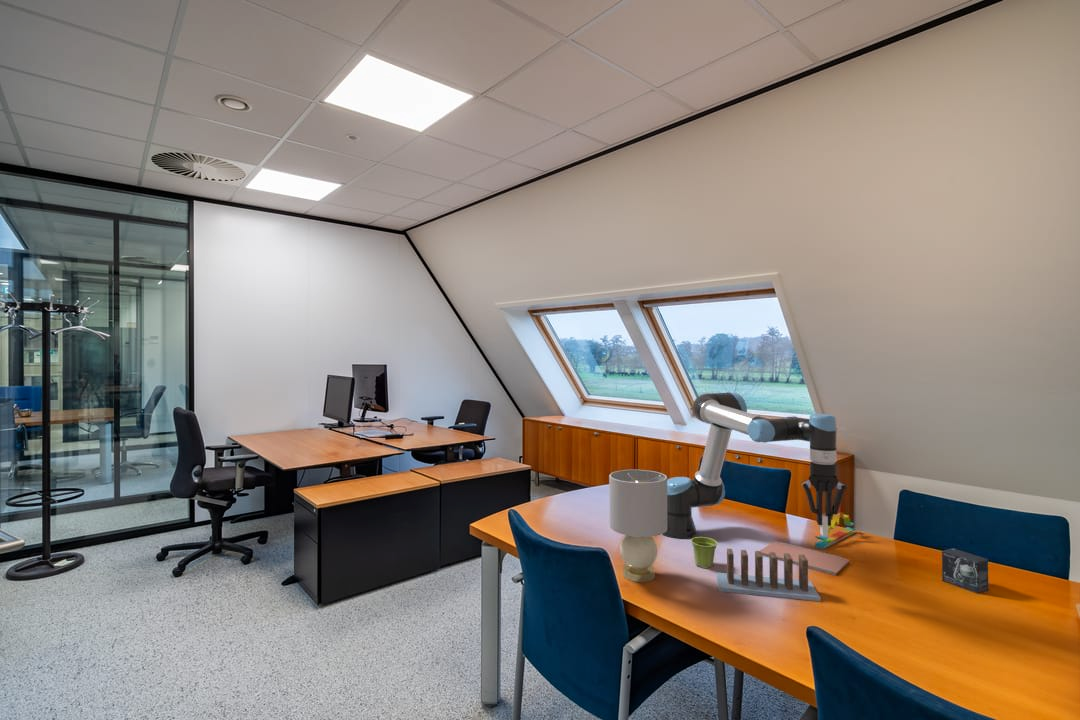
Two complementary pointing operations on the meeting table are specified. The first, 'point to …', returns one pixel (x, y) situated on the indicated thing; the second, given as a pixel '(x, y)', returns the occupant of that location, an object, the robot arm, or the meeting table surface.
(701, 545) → the plant pot
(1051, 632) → the meeting table surface
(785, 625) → the meeting table surface
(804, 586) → the domino
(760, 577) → the domino
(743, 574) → the domino
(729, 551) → the domino
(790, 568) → the domino
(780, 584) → the strip board
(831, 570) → the notebook
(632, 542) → the lamp
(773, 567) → the domino
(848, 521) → the toy brick structure
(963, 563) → the box
